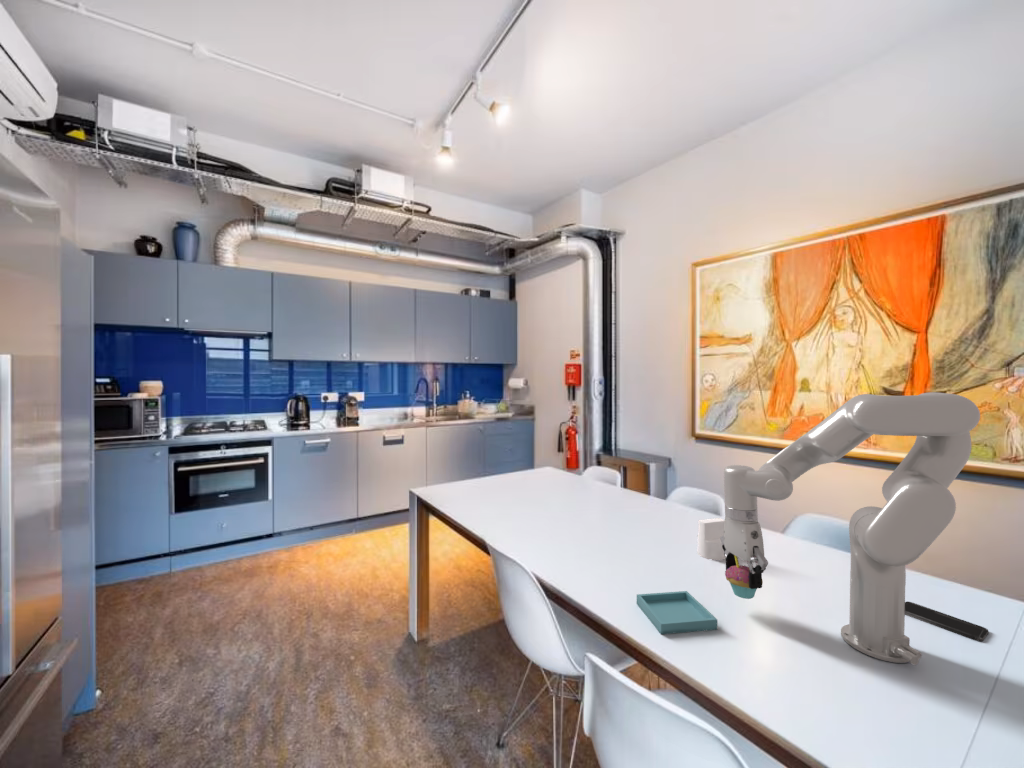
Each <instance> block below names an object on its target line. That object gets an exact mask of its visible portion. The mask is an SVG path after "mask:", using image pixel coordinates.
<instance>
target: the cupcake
mask: <svg viewBox="0 0 1024 768" xmlns="http://www.w3.org/2000/svg"><path fill="white" fill-rule="evenodd" d="M734 556H735V555H734ZM738 558H739V557H737V556H735V561H736V565H734V566H731V567H730V568H728V569H727V570H726V569H725V571H724V576H725V579H726V580H727V581H728V582H729V584H730V587H731V589H732V591H733V592H732V593H733V594H734V595H735V596H736V597H738V598H742V599H747V600H749V599H753V598H754V597H755V596H756V595H755V594H756V591H757V590H758V588H756V589H751V588H749V572H750V569H749V567H748V565H742V564H740V563H739V559H738ZM762 585H763V580H762Z"/></svg>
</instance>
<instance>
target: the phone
mask: <svg viewBox="0 0 1024 768" xmlns="http://www.w3.org/2000/svg"><path fill="white" fill-rule="evenodd" d="M905 616H907V617H909V618H912V619H915V620H918V621H920V622H924V623H927V624H929V625H931V626H934V627H937V628H939V629H943V630H945V631H947V632H951V633H953V634H956V635H959V636H961V637H965V638H966V639H970V640H972V641H975V642H981V643H982V642H984V640H985V639H986V637H987V636H988V635H989V629H988V628H987V627H984V626H981V625H978V624H975V623H972V622H969V621H966V620H965V619H961V618H958V617H955V616H952V615H950V614H947V613H945V612H941V611H937V610H935V609H933V608H929V607H927V606H924V605H920V604H917V603H914V602H911V601H905Z"/></svg>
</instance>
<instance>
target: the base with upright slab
mask: <svg viewBox="0 0 1024 768" xmlns="http://www.w3.org/2000/svg"><path fill="white" fill-rule="evenodd" d="M724 521H725V519H722V518H720V517H716V518H708V519H707V518H706V519H699V520H698V534H697V536H696V537H697V541H696V543H697V545H696V546H697V548H696V549H697V551H696V552H697V553H696V554H697V555H698V556H700V557H701V558H703V559H706V560H709V559H712V560H711V561H717V560H719V561H723V560H722V559H724V560H726V559H725V558H726V557H725V556H724V550H723V548H722V543H721V540H720V537H721V536H724Z"/></svg>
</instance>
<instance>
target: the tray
mask: <svg viewBox="0 0 1024 768" xmlns="http://www.w3.org/2000/svg"><path fill="white" fill-rule="evenodd" d="M636 605H637V606H638V607H639V609H640V610H641V611H642V613H643V614H644V615H645V617H646V618H647V619H648V620H649V621H650V622H651V624H652V626H653V627H655V629H656V630H657V632H658V633H659V634H660V635H669V634H670V635H671V634H680V633H681V634H682V633H693V632H702V631H703V632H706V630H707V631H716V630H718V619H717V618H716V617H715V616H714V615H713V614H712V613H711V612H710V611H709V610H707V609H706V607H705V606H703V604H701V603H700V602H699V601H698V600H697V599H696V598H695V596H693V595H692V594H691V593H690V592H689V591H688V590H684V591H683V590H682V591H680V590H679V591H667V592H655V593H640V594H639V593H638V594H636ZM704 630H705V631H704Z"/></svg>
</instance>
